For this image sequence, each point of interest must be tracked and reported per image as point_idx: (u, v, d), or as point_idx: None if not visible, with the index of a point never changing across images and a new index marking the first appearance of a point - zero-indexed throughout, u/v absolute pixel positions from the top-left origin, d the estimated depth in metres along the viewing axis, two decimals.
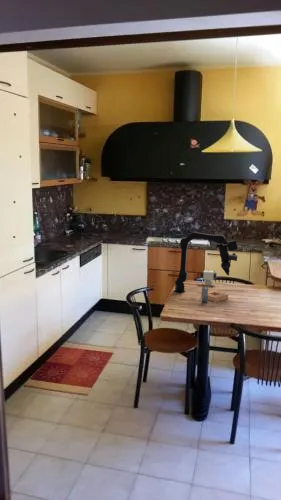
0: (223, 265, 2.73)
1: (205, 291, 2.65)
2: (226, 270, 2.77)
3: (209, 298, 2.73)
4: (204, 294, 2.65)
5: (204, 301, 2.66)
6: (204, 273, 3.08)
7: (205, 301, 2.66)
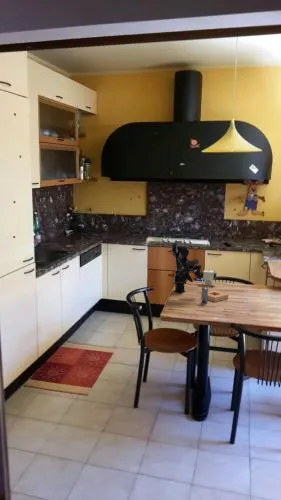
0: (180, 273, 2.69)
1: (205, 291, 2.65)
2: (187, 277, 2.69)
3: (209, 298, 2.73)
4: (204, 294, 2.65)
5: (204, 301, 2.66)
6: (204, 273, 3.08)
7: (205, 301, 2.66)
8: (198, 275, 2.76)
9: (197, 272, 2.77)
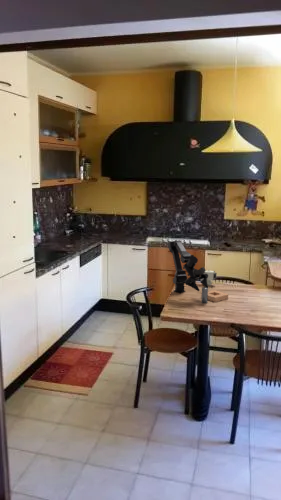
0: (186, 282, 2.65)
1: (205, 291, 2.65)
2: (194, 286, 2.65)
3: (209, 298, 2.73)
4: (204, 294, 2.65)
5: (204, 301, 2.66)
6: (204, 273, 3.08)
7: (205, 301, 2.66)
8: (205, 284, 2.72)
9: (204, 281, 2.73)
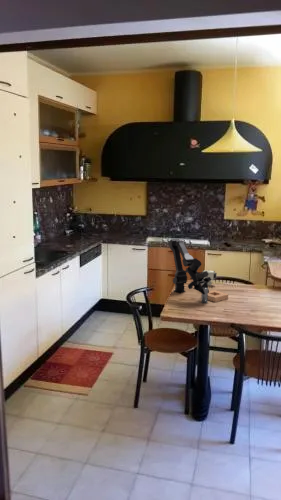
0: (189, 286, 2.64)
1: (205, 291, 2.65)
2: (199, 289, 2.66)
3: (209, 298, 2.73)
4: (204, 294, 2.65)
5: (204, 301, 2.66)
6: None
7: (205, 301, 2.66)
8: None
9: (204, 285, 2.70)
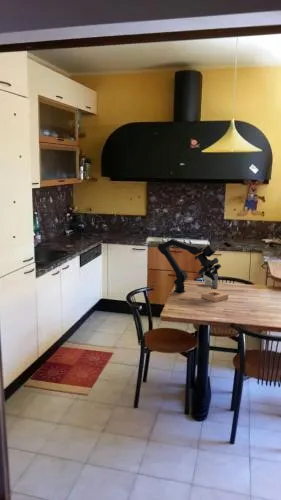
0: (199, 272, 2.72)
1: (215, 277, 2.73)
2: (209, 276, 2.74)
3: (209, 298, 2.73)
4: (214, 280, 2.74)
5: (214, 287, 2.74)
6: (204, 273, 3.08)
7: (215, 287, 2.74)
8: None
9: (214, 272, 2.78)
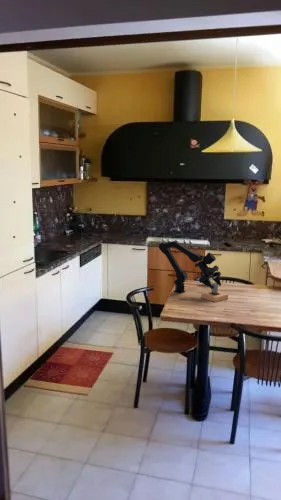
0: (200, 280, 2.74)
1: (215, 287, 2.75)
2: (207, 284, 2.74)
3: (209, 298, 2.73)
4: (214, 290, 2.76)
5: None
6: None
7: None
8: (218, 281, 2.80)
9: (217, 279, 2.81)
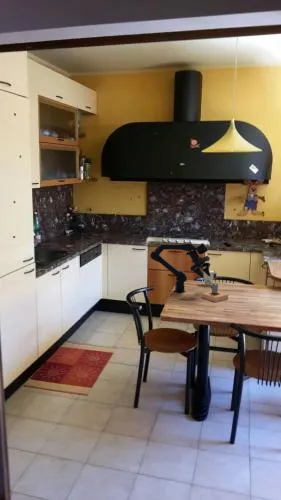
0: (192, 268, 2.78)
1: (215, 287, 2.75)
2: (198, 272, 2.79)
3: (209, 298, 2.73)
4: (214, 290, 2.76)
5: None
6: (204, 273, 3.08)
7: None
8: (207, 272, 2.87)
9: (206, 269, 2.87)
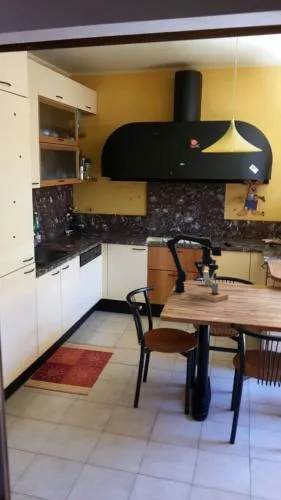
0: (214, 267, 2.78)
1: (215, 287, 2.75)
2: (211, 273, 2.82)
3: (209, 298, 2.73)
4: (214, 290, 2.75)
5: None
6: (204, 273, 3.08)
7: None
8: (201, 270, 2.90)
9: (201, 268, 2.91)
